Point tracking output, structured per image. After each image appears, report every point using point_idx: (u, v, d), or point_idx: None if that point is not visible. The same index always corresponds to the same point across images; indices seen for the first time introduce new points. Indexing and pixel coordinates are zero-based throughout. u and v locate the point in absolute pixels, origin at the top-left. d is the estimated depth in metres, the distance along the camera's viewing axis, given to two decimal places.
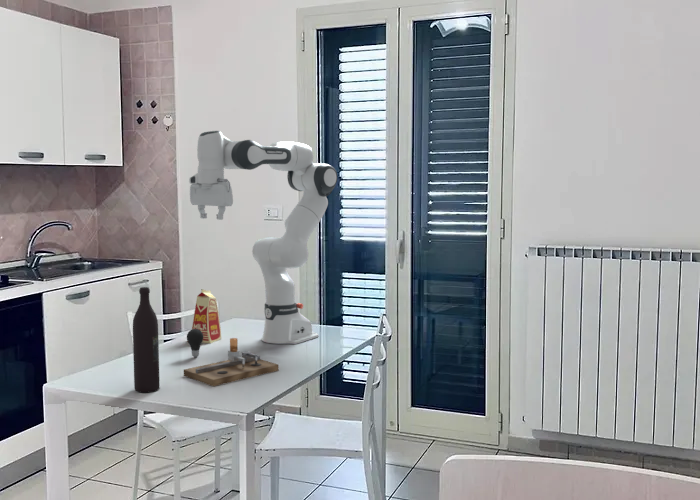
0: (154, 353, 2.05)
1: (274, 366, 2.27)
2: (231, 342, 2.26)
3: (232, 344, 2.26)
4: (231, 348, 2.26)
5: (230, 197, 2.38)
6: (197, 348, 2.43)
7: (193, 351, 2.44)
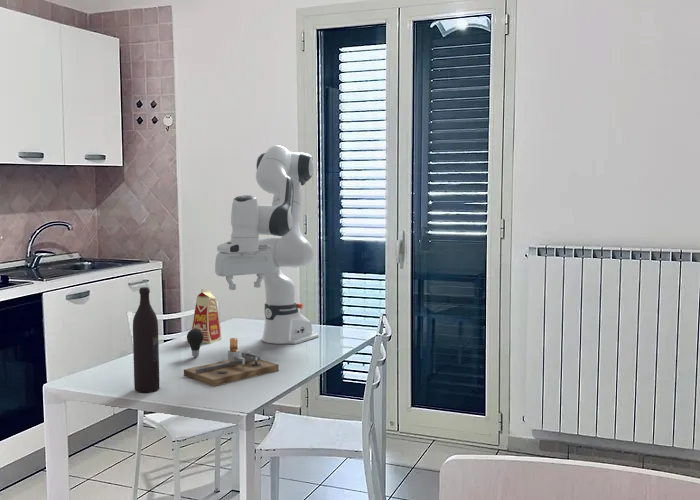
0: (154, 353, 2.05)
1: (274, 366, 2.27)
2: (231, 342, 2.26)
3: (232, 344, 2.26)
4: (231, 348, 2.26)
5: None
6: (197, 348, 2.43)
7: (193, 351, 2.44)
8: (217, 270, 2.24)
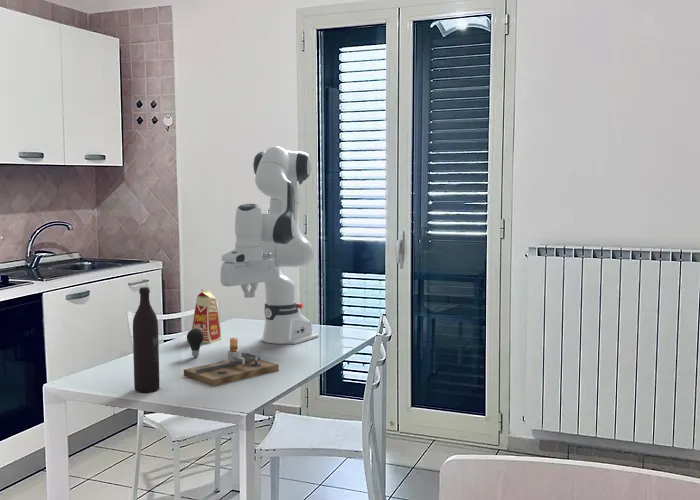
0: (154, 353, 2.05)
1: (274, 366, 2.27)
2: (231, 342, 2.26)
3: (232, 344, 2.26)
4: (231, 348, 2.26)
5: None
6: (197, 348, 2.43)
7: (193, 351, 2.44)
8: (223, 280, 2.23)
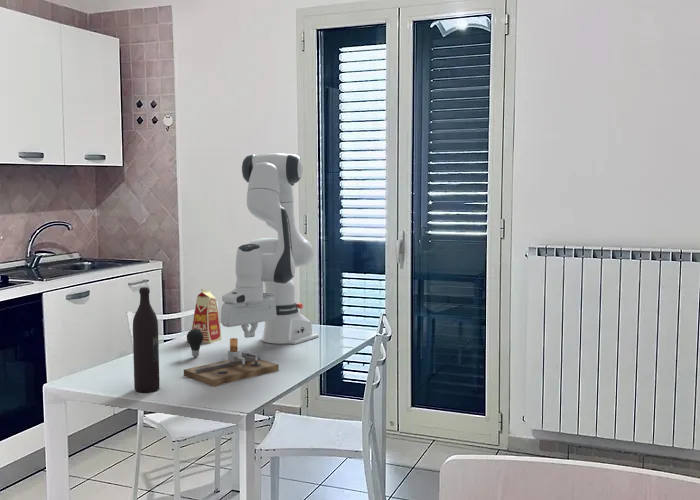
0: (154, 353, 2.05)
1: (274, 366, 2.27)
2: (231, 342, 2.26)
3: (232, 344, 2.26)
4: (231, 348, 2.26)
5: None
6: (197, 348, 2.43)
7: (193, 351, 2.44)
8: (223, 321, 2.23)
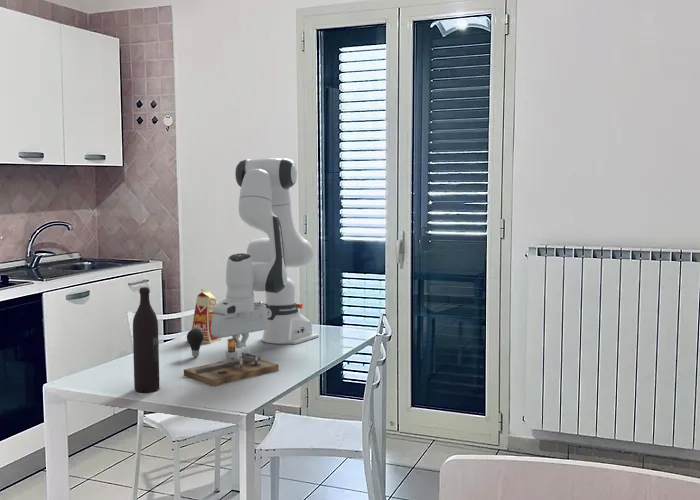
0: (154, 353, 2.05)
1: (274, 366, 2.27)
2: (229, 342, 2.25)
3: (230, 345, 2.25)
4: (229, 348, 2.25)
5: None
6: (197, 348, 2.43)
7: (193, 351, 2.44)
8: (214, 332, 2.21)
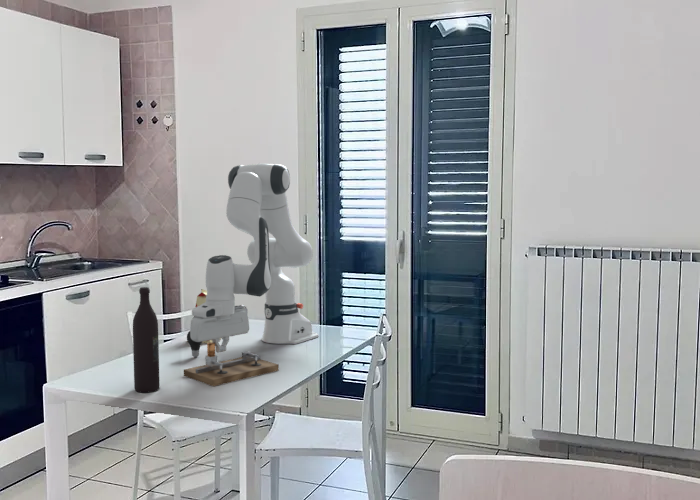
0: (154, 353, 2.05)
1: (274, 366, 2.27)
2: (208, 346, 2.20)
3: (209, 349, 2.20)
4: (208, 353, 2.20)
5: None
6: (197, 348, 2.43)
7: (193, 351, 2.44)
8: (192, 335, 2.16)
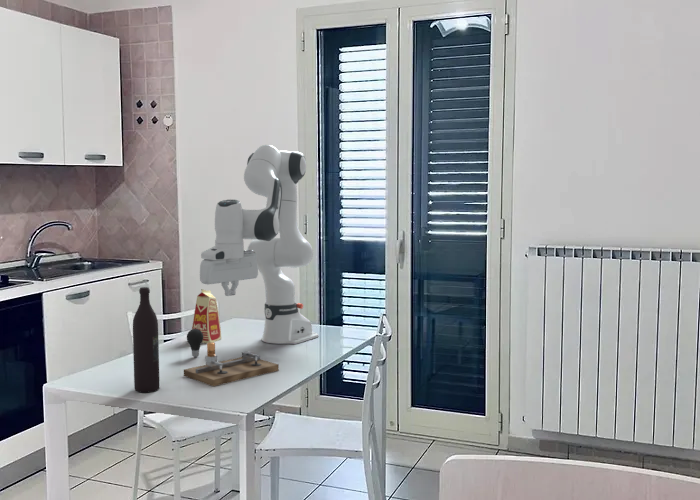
0: (154, 353, 2.05)
1: (274, 366, 2.27)
2: (208, 346, 2.20)
3: (209, 349, 2.20)
4: (208, 353, 2.20)
5: None
6: (197, 348, 2.43)
7: (193, 351, 2.44)
8: (202, 278, 2.17)
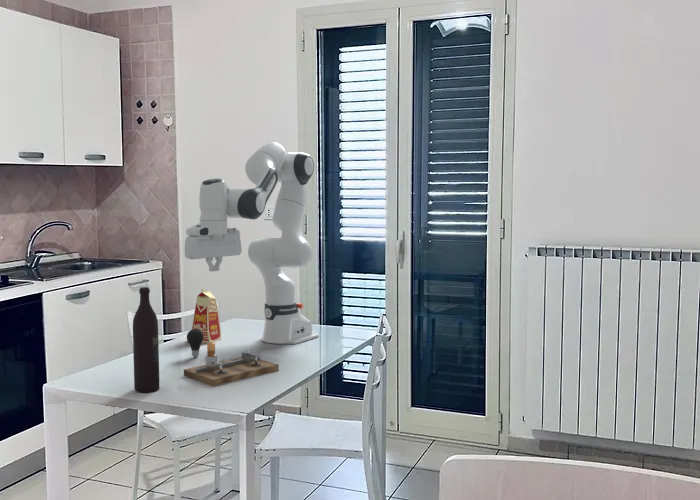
0: (154, 353, 2.05)
1: (274, 366, 2.27)
2: (208, 346, 2.20)
3: (209, 349, 2.20)
4: (208, 353, 2.20)
5: None
6: (197, 348, 2.43)
7: (193, 351, 2.44)
8: (187, 253, 2.26)
